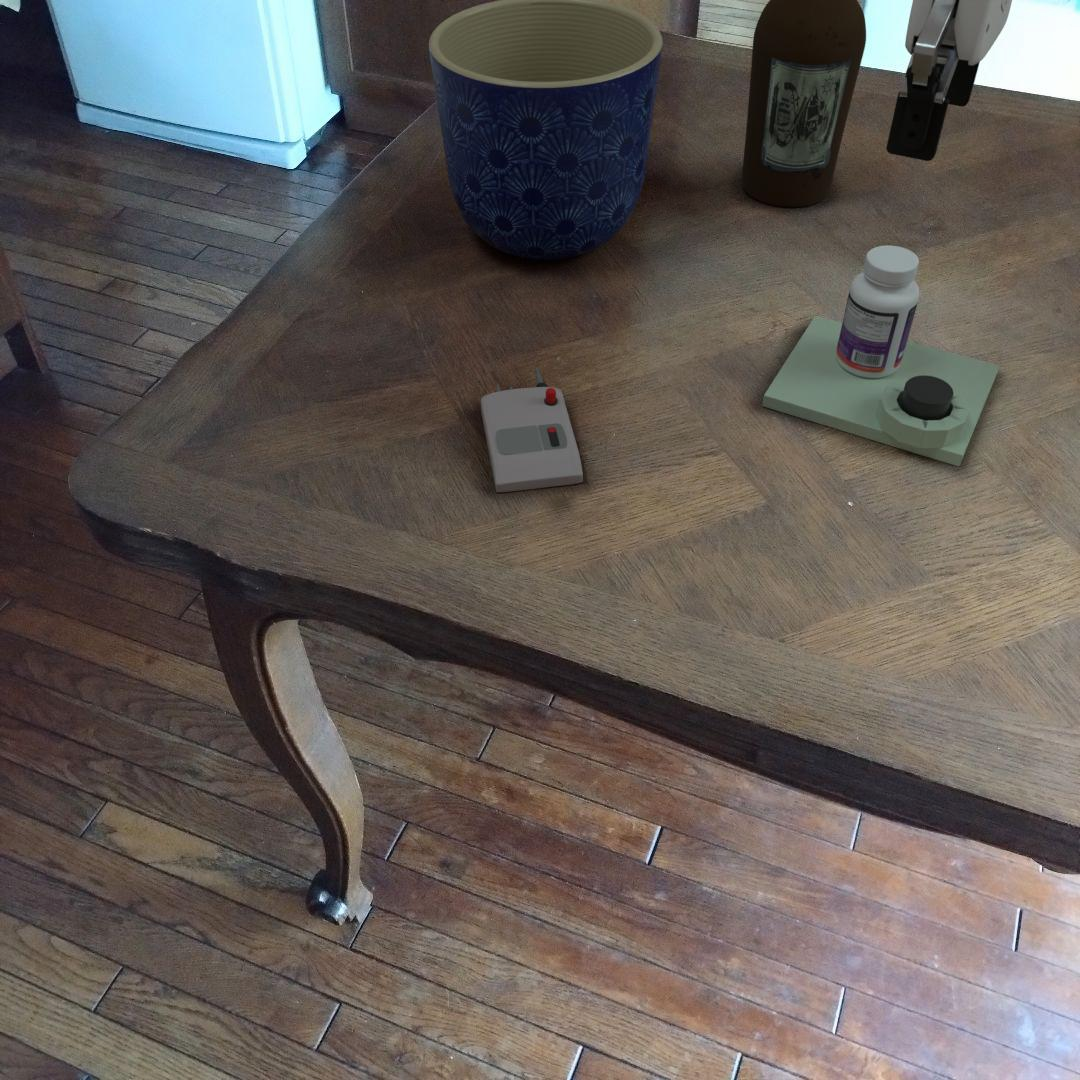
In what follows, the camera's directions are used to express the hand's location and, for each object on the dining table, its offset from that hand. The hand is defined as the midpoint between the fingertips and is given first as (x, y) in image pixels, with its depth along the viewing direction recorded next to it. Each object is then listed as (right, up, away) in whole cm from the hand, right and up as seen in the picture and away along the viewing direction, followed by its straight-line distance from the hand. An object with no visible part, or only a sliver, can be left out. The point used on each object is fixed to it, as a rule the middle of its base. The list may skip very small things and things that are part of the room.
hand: (928, 127), depth 75 cm
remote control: (-28, -21, +10) cm, 37 cm away
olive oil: (-1, +8, +38) cm, 39 cm away
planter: (-27, +2, +32) cm, 42 cm away
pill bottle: (0, -14, +15) cm, 20 cm away
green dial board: (+1, -17, +13) cm, 22 cm away
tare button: (+3, -19, +8) cm, 21 cm away
